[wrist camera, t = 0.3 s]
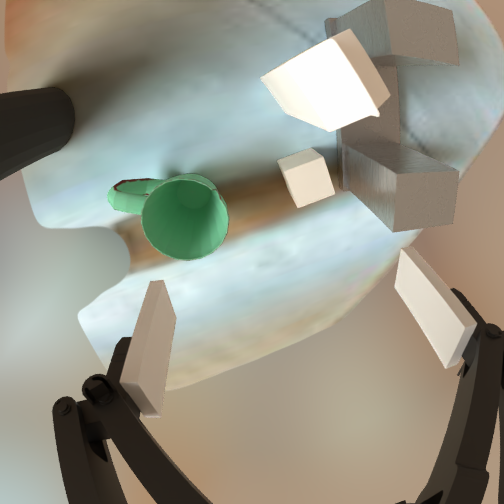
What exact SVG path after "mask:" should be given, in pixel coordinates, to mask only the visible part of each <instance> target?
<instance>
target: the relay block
mask: <svg viewBox="0 0 504 504" xmlns="http://www.w3.org/2000/svg"><path fill="white" fill-rule="evenodd" d="M277 162H278V165H279V167H280V170H281V172H282V175H283V177H284V180H285V183H286V185H287V188H288V190H289V193H290V195H291V197H292V198H293V200H294V202H295V204H296V206H297V208H300V207H302V206H305V205H308V204H310V203H313V202H315V201H318V200H321V199H323V198H326V197H328V196H331V195H334V194H335V192H334V188H333V185H332V182H331V179H330V175H329V172H328V169H327V166H326V163H325V160H324V157H323V156H322V155H320V154H319V153H318V152H316V151H315V150H314V149H312V148H309V149H306V150H303V151H300V152H298V153H295V154H292V155H290V156H287V157H284V158H282V159H279V160H277Z"/></svg>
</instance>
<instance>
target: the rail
mask: <svg viewBox="0 0 504 504" xmlns="http://www.w3.org/2000/svg"><path fill="white" fill-rule="evenodd" d="M324 22H325V29H326V35H327V39H329V38H331V37H333V36H335V35H337V34H339V33H341V32H343V31H345V30H347V29H351V30H352V32H353V33H354V35H355V36H356V38H357V39H358V41H359V42H360V44H361V45H362V47H363V48H364V50H365V51H366V53H367V55H368V56H369V58H370V60H371V61H372V63H373V64H374V66H375V68H376V70H377V71H378V73H379V75H380V76H381V78H382V80H383V82H384V84H385V85H386V87H387V89H388V91H389V93H390V97H389V98H388V99H387V100H386V101H385V102H384V103H383V104H382V105H381V106H380V107H379V108H378V111H379V113H380V116H379V117H376V116H372V115H370V116H368V117H365V118H363V119H360V120H358V121H356V122H353V123H351V124H348V125H346V126H344V127H341V128H339V129H337V130H336V135H337V153H338V179H339V188H340V189H342V190H343V191H351V192H352V193H353V194H354V195H355V196H356V197H357V198H358V199H359V200H361V201H362V202H363V203H364V204H365V205H366V206H367V207H368V208H369V209H370V210H371V211H372V212H373V213H374V214H375V215H376V216H377V217H378V218H379V219H380V220H381V221H382V222H383V223H384V224H385V225H386V226H387V227H388V228H389V229H390V230H391V231H392V232H400V231H407V230H414V229H421V228H428V227H435V226H441V225H449V224H453V218H454V212H455V204H456V197H457V188H458V179H459V171H458V170H456V169H454V168H452V167H450V166H448V165H446V164H444V163H442V162H439V161H437V160H435V159H433V158H431V157H429V156H426V155H424V154H422V153H420V152H417V151H415V150H413V149H410V148H408V147H406V146H403V145H401V144H400V111H399V91H398V77H397V66H416V65H458V66H459V56H458V47H457V39H456V32H455V26H454V20H453V14H452V11H451V10H448V9H445V8H442V7H438V6H435V5H431V4H428V3H424V2H420V1H416V0H370V1H368V2H366V3H364V4H362V5H360V6H359V7H357V8H355V9H353V10H352V11H350V12H348V13H346V14H345V15H343V16H341V17H340V18H328V19H327V20H325V21H324Z"/></svg>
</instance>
